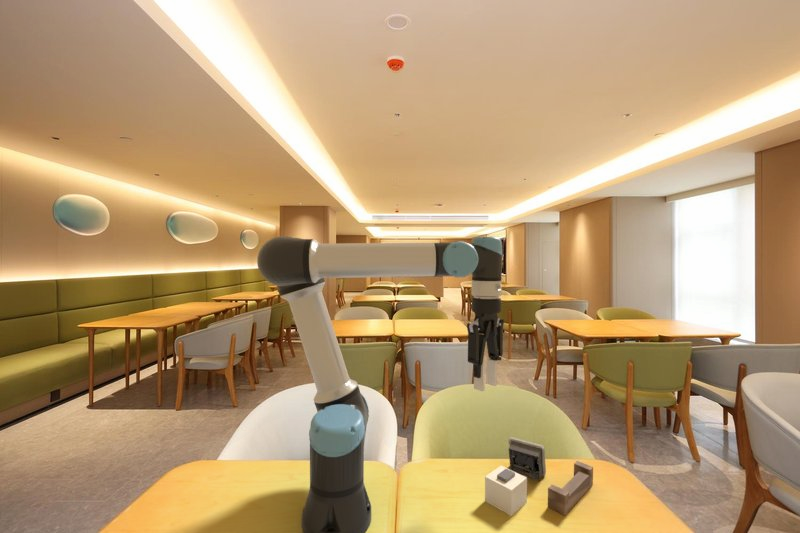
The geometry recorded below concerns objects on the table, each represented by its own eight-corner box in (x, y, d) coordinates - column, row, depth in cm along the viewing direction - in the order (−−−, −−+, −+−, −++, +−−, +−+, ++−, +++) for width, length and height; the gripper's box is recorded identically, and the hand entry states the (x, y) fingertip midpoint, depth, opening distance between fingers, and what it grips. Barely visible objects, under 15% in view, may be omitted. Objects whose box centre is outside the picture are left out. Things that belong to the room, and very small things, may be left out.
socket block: (484, 501, 88) (485, 473, 88) (500, 489, 93) (501, 462, 92) (511, 516, 83) (511, 486, 83) (526, 502, 87) (527, 474, 87)
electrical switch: (546, 475, 99) (546, 442, 98) (542, 486, 94) (541, 452, 93) (511, 464, 104) (510, 433, 103) (505, 475, 99) (505, 442, 98)
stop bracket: (547, 506, 86) (548, 487, 86) (576, 477, 97) (577, 460, 97) (565, 515, 83) (565, 495, 83) (592, 484, 95) (593, 466, 94)
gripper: (478, 300, 86) (477, 400, 86) (517, 295, 98) (516, 382, 98) (452, 298, 91) (452, 391, 92) (493, 293, 103) (492, 376, 104)
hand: (485, 386), depth 95 cm, fingers open, 5 cm apart
